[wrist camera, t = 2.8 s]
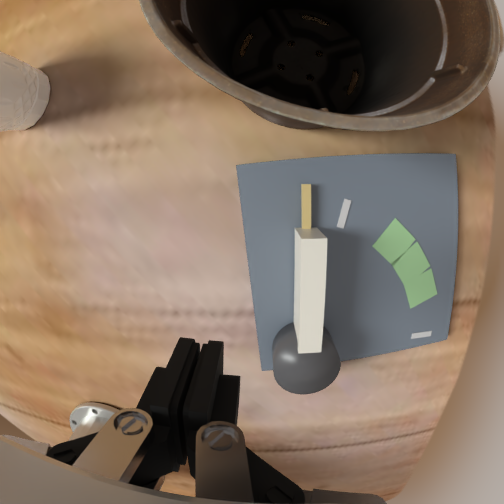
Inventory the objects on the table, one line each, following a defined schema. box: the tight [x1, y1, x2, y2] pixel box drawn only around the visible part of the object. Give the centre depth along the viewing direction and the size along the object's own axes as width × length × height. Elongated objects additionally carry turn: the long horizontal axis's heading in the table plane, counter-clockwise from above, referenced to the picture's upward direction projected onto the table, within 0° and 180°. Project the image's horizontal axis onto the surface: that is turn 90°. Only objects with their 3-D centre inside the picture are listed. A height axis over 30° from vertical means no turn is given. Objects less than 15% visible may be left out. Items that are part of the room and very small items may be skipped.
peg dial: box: [272, 184, 341, 394], centre depth 25 cm, size 17×6×4 cm, turn 2°
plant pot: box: [139, 0, 500, 131], centre depth 15 cm, size 16×16×16 cm
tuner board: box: [236, 153, 458, 371], centre depth 27 cm, size 19×20×1 cm
